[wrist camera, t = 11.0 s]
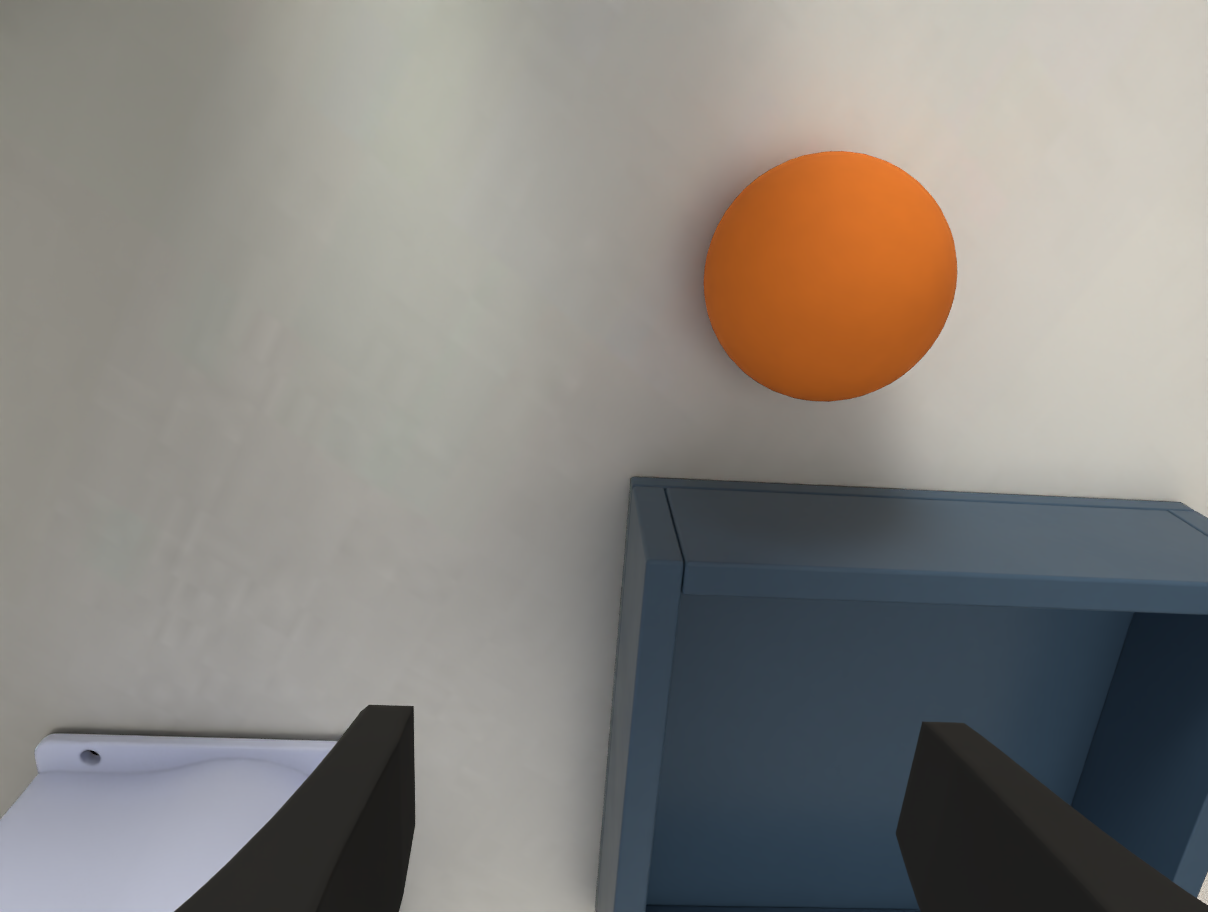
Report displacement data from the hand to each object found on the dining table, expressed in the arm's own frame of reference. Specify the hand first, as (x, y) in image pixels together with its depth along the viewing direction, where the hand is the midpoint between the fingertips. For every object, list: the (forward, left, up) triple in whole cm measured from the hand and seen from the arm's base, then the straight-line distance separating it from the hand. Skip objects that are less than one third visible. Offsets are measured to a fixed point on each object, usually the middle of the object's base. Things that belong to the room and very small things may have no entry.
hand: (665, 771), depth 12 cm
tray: (+8, -7, -10) cm, 15 cm away
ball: (+4, +6, -8) cm, 10 cm away
